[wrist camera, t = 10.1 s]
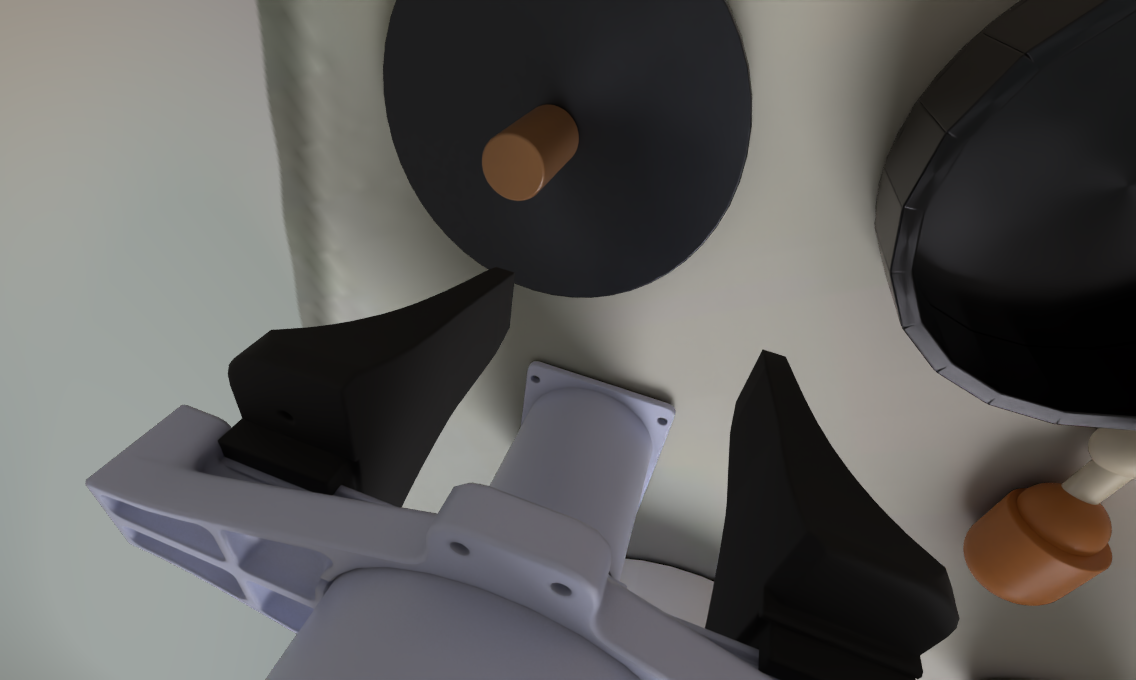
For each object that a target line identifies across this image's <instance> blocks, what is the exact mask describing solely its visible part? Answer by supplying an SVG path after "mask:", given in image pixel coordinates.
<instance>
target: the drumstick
mask: <svg viewBox="0 0 1136 680" xmlns="http://www.w3.org/2000/svg"><path fill="white" fill-rule="evenodd" d="M1088 450H1089V454H1090V456H1091V458H1092V460H1091V461H1090V462H1088V463H1087V464H1086V465H1085V466H1083V467H1082V468H1081V469H1080V470H1079V471H1077V472H1076V473H1075V474H1074V475H1072V476H1071V477H1070V478H1069V479H1068V480H1066V481H1065V482H1064V483H1063V484H1062V483H1041V484H1037V485H1034V486H1031V487H1029V488H1020V489H1015V490H1013V491H1011V492H1010V493H1009V494H1008V495H1006V496H1005V497H1004V498H1003V499H1002V500H1001V501H1000V502H998V503H997V504H996V505H995V506H994V507H993V508H992V509H991V510H989V511H988V512H987V513H986V514H985V515H984V516H983V517H981V518H980V519H979V520H978V521H977V522H976V523H975V524H973V526H972V527H971V528H970V529H969V531H968V532H967V534H966V537H965V540H964V546H963V551H964V557H965V560H966V563H967V566H968V568H969V570H970V571H971V573H972V574H973V576H974V577H975V578H976V580H977V581H978V582H979V583H980V584H981V585H982V586H983V587H985V588H986V589H987V590H988V591H990V592H991V593H993V594H995V595H996V596H998V597H1000V598H1002V599H1004V600H1007V601H1009V602H1012V603H1016V604H1021V605H1028V606H1038V605H1044V604H1049V603H1052V602H1055V601H1056V600H1058V599H1060V598H1062V597H1063V596H1065V595H1066V594H1068V593H1070V592H1071V591H1073V590H1074V589H1076V588H1077V587H1079V586H1081V585H1082V584H1084V583H1085V582H1087V581H1089V580H1090V579H1092V578H1093V577H1095V576H1097V575H1098V574H1100V573H1101V572H1103V571H1104V570H1106V569H1108V567H1109V566H1110V565H1111V562H1112V552H1111V549H1110V546H1109V544H1108V542H1109V540H1110V537H1111V532H1112V526H1111V521H1110V518H1109V516H1108V513H1107V512H1106V510H1105V509H1104V507H1103V506H1102V505H1101V504H1100V503H1101V502H1102V501H1103V500H1105V499H1106V498H1107V497H1109V496H1110V495H1112V494H1113V493H1114V492H1116V491H1117V490H1118V489H1120V488H1121V487H1122V486H1124V485H1125V484H1126V483H1128V482H1129V481H1130V480H1132V479H1136V431H1133V430H1120V429H1108V428H1098V429H1097V430H1096V431H1095V432H1094V433H1093V434H1092V435H1091V437H1090V439H1089V442H1088Z"/></svg>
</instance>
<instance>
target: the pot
mask: <svg viewBox="0 0 1136 680" xmlns="http://www.w3.org/2000/svg"><path fill="white" fill-rule="evenodd" d="M619 581H620V582H622V583H624V584H625V585H626V586H627V589H628V590H630V591H631V592H633V593H634V594H636V595H638V596H639V597H641V598H643V599H644V600H646V601H647V602H649V603H651V604H652V605H654V606H655V607H657V608H659V609H660V610H662V611H664V612H665V613H667V614H670V615H672V616H675V617H677V618H680V619H682V620H685V621H687V622H690V623H692V624H695V625H697V626H700V627H702V628H705V625H706V620H707V616H708V610H709V605H710V600H711V595H712V590H713V585H714V582H713V581H711V580H708V579H706V578H704V577H702V576H699V575H696V574H692V573H689V572H686V571H683V570H680V569H677V568H674V567H671V566H666V565H661V564H656V563H652V562H647V561H642V560H633V559H625V561H624V565H623V569H622V573H621V577H620V580H619Z"/></svg>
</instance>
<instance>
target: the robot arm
mask: <svg viewBox="0 0 1136 680" xmlns="http://www.w3.org/2000/svg"><path fill="white" fill-rule="evenodd" d="M514 278H515V273H514V272H511V271H508V270H505V269H501V268H498V267H494V268H492V269H490V270H487V271H485V272H483V273H481V274H479V275H477V276H475V277H473V278H471V279H469V280H467V281H465V282H463V283H461V284H459V285H457V286H455V287H453V288H451V289H449V290H447V291H444V292H442V293H440V294H437V295H435V296H433V297H430V298H428V299H425V300H423V301H421V302H418V303H415V304H413V305H410V306H407V307H404V308H401V309H398V310H395V311H391V312H388V313H385V314H381V315H377V316H372V317H368V318H364V319H359V320H355V321H350V322H344V323H338V324H332V325H325V326H317V327H308V328H294V329H280V330H271V331H269V332H268V333H266V334H265V335H264V336H263V337H261V338H260V339H259V340H257V341H256V342H255V343H253V344H252V345H251V346H249V347H248V348H247V349H246V350H244V351H243V352H242V353H240V354H239V355H238V356H236V357H235V358H234V359H233V360H232V361H231V363H230V364H229V369H228V377H229V382H230V386H231V389H232V391H233V394H234V396H235V399H236V402H237V404H238V408H239V410H240V413H241V416H242V419H241V420H240V421H239V422H238V423H237V424H236V425H234V426H233V427H232V428H231V426H230V425H229V424H228V423H227V422H225V421H224V420H222V419H220V418H219V417H216V416H214V415H211V414H208V413H206V412H203V411H201V410H198V409H196V408H193V407H190V406H188V405H181V406H180V407H179V408H177V409H176V410H175V411H173V412H172V413H171V414H170V415H168V416H167V417H166V418H165V419H163V420H162V421H161V422H159V423H158V424H157V425H156V426H154V427H153V428H152V429H150V430H149V431H148V432H147V433H145V434H144V435H143V436H141V437H140V438H139V439H138V440H136V441H135V442H134V443H132V444H131V445H130V446H129V447H127V448H126V449H125V450H123V451H122V452H121V453H120V454H119V455H117V456H116V457H115V458H113V459H112V460H111V461H110V462H108V463H107V464H106V465H104V466H103V467H102V468H100V469H99V470H98V471H97V472H95V473H94V474H93V475H91V476H90V477H89V478H88V479H86V486H87V487H88V488H89V490H90V491H91V492H92V494H93V495H94V497H95V498H96V499H97V501H98V502H99V503H100V505H101V506H102V507H103V509H104V510H105V511H106V513H107V514H108V516H109V517H110V518H111V520H112V521H113V522H114V524H115V525H116V526H117V528H118V529H119V530H120V532H121V533H122V535H123V536H124V537H125V539H126V540H127V541H128V542H129V543H130V544H131V545H133V546H136V547H138V548H140V549H142V550H144V551H147V552H149V553H151V554H153V555H155V556H157V557H159V558H161V559H164V560H166V561H168V562H169V563H171V564H174V565H175V566H177V567H179V568H181V569H183V570H185V571H187V572H189V573H191V574H193V575H195V576H196V577H198V578H200V579H202V580H204V581H205V582H207V583H209V584H211V585H213V586H214V587H216V588H218V589H220V590H222V591H223V592H225V593H227V594H228V595H230V596H232V597H234V598H235V599H237V600H239V601H241V602H242V603H244V604H246V605H248V606H249V607H251V608H253V609H254V610H256V611H258V612H260V613H262V614H263V615H265V616H267V617H268V618H270V619H272V620H274V621H275V622H277V623H279V624H281V625H282V626H284V627H286V628H287V629H289V630H291V631H293V632H295V633H296V634H297V635H296V636H295V638H294V639H293V640H292V642H291V643H290V645H289V646H288V648H287V649H286V650H285V652H284V653H283V655H282V656H281V658H280V659H279V661H278V662H277V663H276V665H275V666H274V668H273V669H272V671H271V672H270V673H269V675H268V676H267V678H266V679H265V680H916V679H915V678H917V679H919V678H920V677H922V674H923V669H922V664H921V659H920V655H921V654H923V653H924V652H926V651H927V650H929V649H930V648H932V647H933V646H935V645H936V644H938V643H939V642H941V641H942V640H944V639H945V638H947V637H948V636H949V635H950V634H951V633H952V632H953V631H954V630H955V629H956V628H957V625H958V621H959V615H958V611H957V607H956V603H955V598H954V594H953V590H952V586H951V583H950V580H949V577H948V574H947V571H946V568H945V567H944V566H943V565H942V564H940V563H939V562H938V561H937V560H936V559H935V558H934V557H932V556H931V555H930V554H929V553H928V552H927V551H926V550H924V549H923V548H922V547H921V546H920V545H919V544H918V543H916V542H915V541H914V540H913V539H912V538H911V537H910V536H909V535H908V534H906V533H905V532H904V531H903V530H902V529H901V528H900V527H899V526H898V525H897V524H896V523H895V522H894V521H893V520H892V519H891V518H890V517H889V516H888V515H887V514H886V513H885V512H884V510H883V509H882V508H881V507H880V506H879V505H878V504H877V503H876V502H875V501H874V500H873V499H872V497H871V496H870V495H869V494H868V493H867V492H866V490H865V489H864V488H863V487H862V486H861V485H860V483H859V482H858V481H857V480H856V478H855V477H854V476H853V475H852V473H851V472H850V471H849V470H848V468H847V467H846V465H845V464H844V463H843V461H842V460H841V459H840V457H839V456H838V454H837V453H836V452H835V450H834V449H833V447H832V446H831V444H830V443H829V441H828V439H827V438H826V436H825V434H824V433H823V431H822V429H821V428H820V426H819V424H818V423H817V421H816V419H815V417H814V415H813V413H812V411H811V410H810V408H809V406H808V404H807V402H806V400H805V398H804V396H803V394H802V391H801V389H800V387H799V385H798V383H797V381H796V378H795V376H794V374H793V372H792V369H791V367H790V365H789V363H788V361H787V359H786V357H785V356H782V355H779V354H775V353H772V352H769V351H766V350H762V352H761V354H760V356H759V358H758V360H757V362H756V364H755V366H754V368H753V370H752V372H751V374H750V376H749V378H748V380H747V382H746V384H745V385H744V387H743V389H742V391H741V393H740V395H739V397H738V399H737V401H736V405H735V410H734V415H733V420H732V426H731V432H730V446H729V467H728V489H727V506H726V516H725V523H724V529H723V535H722V541H721V547H720V553H719V558H718V564H717V569H716V575H715V580H714V585H713V590H712V595H711V600H710V605H709V610H708V616H707V620H706V625H705V628H702V627H700V626H697V625H695V624H692V623H690V622H687V621H685V620H682V619H680V618H677V617H675V616H672V615H670V614H667V613H665V612H664V611H662V610H660V609H659V608H657V607H655V606H654V605H652V604H651V603H649V602H647V601H646V600H644V599H643V598H641V597H639V596H638V595H636V594H634V593H633V592H631V591H630V590H628V589H627V586H626V585H625V584H624V583H622V582H620V581H619V580H620V577H621V573H622V569H623V565H624V561H625V557H626V553H627V549H628V545H629V541H630V537H631V533H632V529H633V525H634V521H635V518H636V514H637V511H638V509H639V507H640V504H641V501H642V499H643V496H644V494H645V491H646V489H647V486H648V484H649V481H650V478H651V476H652V473H653V471H654V468H655V466H656V463H657V460H658V458H659V455H660V453H661V450H662V448H663V445H664V443H665V440H666V437H667V435H668V432H669V430H670V427H671V425H672V422H673V419H674V417H675V411H676V410H675V408H674V407H673V406H672V405H670V404H668V403H665V402H662V401H659V400H656V399H653V398H650V397H647V396H644V395H641V394H638V393H635V392H631V391H628V390H625V389H622V388H619V387H616V386H613V385H610V384H607V383H604V382H601V381H598V380H594V379H591V378H588V377H585V376H582V375H579V374H576V373H573V372H570V371H567V370H564V369H561V368H557V367H554V366H551V365H548V364H545V363H542V362H539V361H534V362H532V363H531V364H530V365H529V367H528V371H527V379H526V388H525V396H524V404H523V413H522V421H521V428H520V430H519V431H518V433H517V435H516V437H515V439H514V441H513V443H512V444H511V446H510V448H509V450H508V452H507V454H506V456H505V458H504V459H503V461H502V463H501V465H500V467H499V469H498V471H497V473H496V474H495V476H494V478H493V480H492V482H491V484H490V486H486V485H481V484H477V483H467V484H463V485H459V486H455V487H454V488H453V489H452V491H451V493H450V494H449V496H448V498H447V499H446V501H445V503H444V504H443V506H442V508H441V509H440V511H439V513H438V514H437V513H431V512H425V511H419V510H413V509H408V508H402V505H403V503H404V501H405V499H406V497H407V495H408V493H409V491H410V489H411V487H412V485H413V483H414V481H415V479H416V477H417V476H418V474H419V472H420V470H421V468H422V466H423V464H424V462H425V460H426V459H427V457H428V455H429V453H430V451H431V449H432V448H433V446H434V444H435V442H436V440H437V439H438V437H439V435H440V433H441V432H442V430H443V428H444V426H445V425H446V423H447V421H448V420H449V418H450V416H451V415H452V413H453V412H454V410H455V409H456V407H457V406H458V404H459V403H460V402H461V400H462V399H463V398H464V396H465V395H466V394H467V392H468V391H469V389H470V388H471V387H472V385H473V384H474V383H475V381H476V380H477V379H478V377H479V376H480V375H481V373H482V372H483V371H484V369H485V368H486V366H487V365H488V364H489V362H490V361H491V360H492V358H493V357H494V355H495V354H496V352H497V350H498V349H499V347H500V345H501V343H502V341H503V339H504V337H505V335H506V334H507V332H508V330H509V328H510V318H511V308H512V298H513V288H514ZM535 376H537V377H538V378H536V377H535ZM660 418H665V419H666V420H662V419H660Z"/></svg>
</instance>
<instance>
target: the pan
mask: <svg viewBox="0 0 1136 680" xmlns="http://www.w3.org/2000/svg"><path fill="white" fill-rule="evenodd" d="M875 231H876V236H877V240H878V244H879V250H880V253H881V257H882V262H883V266H884V270H885V275H886V278H887V281H888V284H889V288H890V291H891V294H892V298H893V301H894V304H895V307H896V311H897V314H898V317H899V321H900V324H901V326H902V329H903V330H904V331H905V333H906V334H907V335H908V337H909V338H910V339H911V341H912V342H913V343H914V344H915V346H916V347H917V348H918V350H919V351H920V352H921V354H922V355H923V356H924V358H925V359H926V360H927V362H928V363H929V364H930V365H931V367H932V368H933V369H934V370H935V371H936V372H937V373H939V374H940V375H942V376H943V377H945V378H947V379H948V380H950V381H951V382H953V383H955V384H956V385H958V386H959V387H961V388H963V389H964V390H966V391H967V392H969V393H971V394H972V395H974V396H975V397H977V398H979V399H980V400H982V401H983V402H985V403H987V404H989V405H992V406H995V407H998V408H1002V409H1005V410H1008V411H1012V412H1015V413H1019V414H1022V415H1025V416H1029V417H1032V418H1035V419H1039V420H1042V421H1046V422H1049V423H1052V424H1058V425H1071V426H1083V427H1095V428H1108V429H1120V430H1133V431H1136V0H1021V1H1019V2H1018V3H1017V4H1015V5H1014V6H1012V7H1011V8H1010V9H1008V10H1007V11H1006V12H1004V13H1003V14H1002V15H1000V16H999V17H998V18H996V19H995V20H994V21H992V22H991V23H990V24H989V25H988V26H987V27H986V28H984V29H983V30H982V31H981V32H980V33H979V34H978V35H977V36H976V37H974V38H973V39H972V40H971V41H970V42H969V43H968V44H967V45H965V46H964V47H963V48H962V49H961V50H960V51H959V52H958V53H957V54H956V56H955V57H954V58H953V59H952V60H951V61H950V62H949V63H948V64H947V65H946V66H945V67H944V68H943V70H942V71H941V72H940V73H939V74H938V75H937V76H936V77H935V78H934V80H933V81H932V82H931V84H930V85H929V86H928V88H927V89H926V90H925V92H924V93H923V94H922V96H921V97H920V98H919V100H918V101H917V102H916V104H915V105H914V107H913V108H912V110H911V112H910V113H909V115H908V117H907V118H906V120H905V122H904V123H903V125H902V127H901V128H900V130H899V132H898V134H897V136H896V138H895V141H894V143H893V145H892V147H891V150H890V152H889V154H888V156H887V159H886V162H885V165H884V169H883V172H882V175H881V179H880V182H879V188H878V195H877V201H876V218H875Z"/></svg>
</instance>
